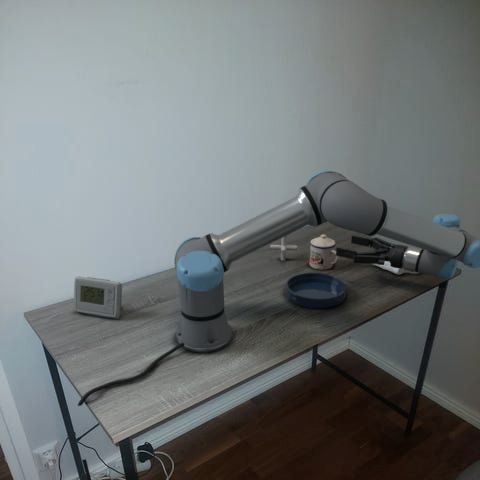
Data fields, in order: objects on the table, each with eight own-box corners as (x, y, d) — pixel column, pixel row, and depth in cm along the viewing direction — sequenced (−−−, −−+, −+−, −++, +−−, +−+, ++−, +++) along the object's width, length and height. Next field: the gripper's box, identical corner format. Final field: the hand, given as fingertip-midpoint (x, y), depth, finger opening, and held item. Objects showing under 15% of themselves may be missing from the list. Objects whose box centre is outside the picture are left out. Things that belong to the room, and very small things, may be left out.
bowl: (337, 313, 135) (338, 303, 134) (277, 301, 142) (277, 292, 140) (350, 287, 150) (351, 278, 149) (295, 277, 157) (296, 268, 155)
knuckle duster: (363, 263, 167) (387, 254, 175) (404, 279, 155) (429, 268, 162) (364, 255, 165) (389, 245, 173) (406, 271, 153) (431, 260, 160)
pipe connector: (296, 255, 175) (297, 230, 170) (296, 265, 166) (297, 239, 161) (270, 254, 176) (271, 229, 171) (269, 264, 167) (270, 239, 162)
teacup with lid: (303, 264, 167) (305, 234, 161) (320, 258, 172) (322, 229, 166) (328, 275, 159) (331, 243, 153) (344, 268, 164) (348, 237, 158)
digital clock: (71, 312, 138) (64, 281, 133) (93, 300, 145) (87, 269, 139) (110, 325, 131) (104, 292, 126) (131, 311, 138) (126, 280, 132)
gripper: (391, 282, 140) (328, 267, 150) (414, 256, 158) (356, 244, 168) (395, 260, 136) (330, 246, 146) (418, 235, 154) (358, 224, 164)
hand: (344, 245), depth 157 cm, fingers open, 13 cm apart
